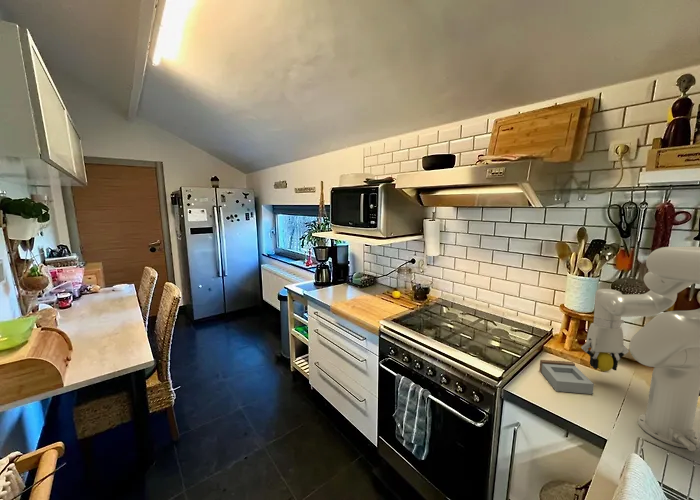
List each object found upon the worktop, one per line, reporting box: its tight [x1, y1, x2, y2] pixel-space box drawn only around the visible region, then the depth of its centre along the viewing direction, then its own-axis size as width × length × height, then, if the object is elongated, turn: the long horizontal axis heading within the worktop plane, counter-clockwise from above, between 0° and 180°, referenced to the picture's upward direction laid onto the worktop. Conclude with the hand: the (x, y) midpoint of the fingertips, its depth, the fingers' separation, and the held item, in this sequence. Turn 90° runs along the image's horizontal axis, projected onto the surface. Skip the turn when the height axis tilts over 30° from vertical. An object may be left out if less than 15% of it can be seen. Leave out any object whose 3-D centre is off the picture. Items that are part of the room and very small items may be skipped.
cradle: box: [541, 364, 595, 395], centre depth 113 cm, size 12×12×4 cm
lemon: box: [597, 352, 613, 372], centre depth 111 cm, size 6×6×8 cm
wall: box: [538, 359, 576, 374], centre depth 120 cm, size 2×12×5 cm, turn 80°
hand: (603, 367), depth 112 cm, fingers closed on lemon, 5 cm apart
